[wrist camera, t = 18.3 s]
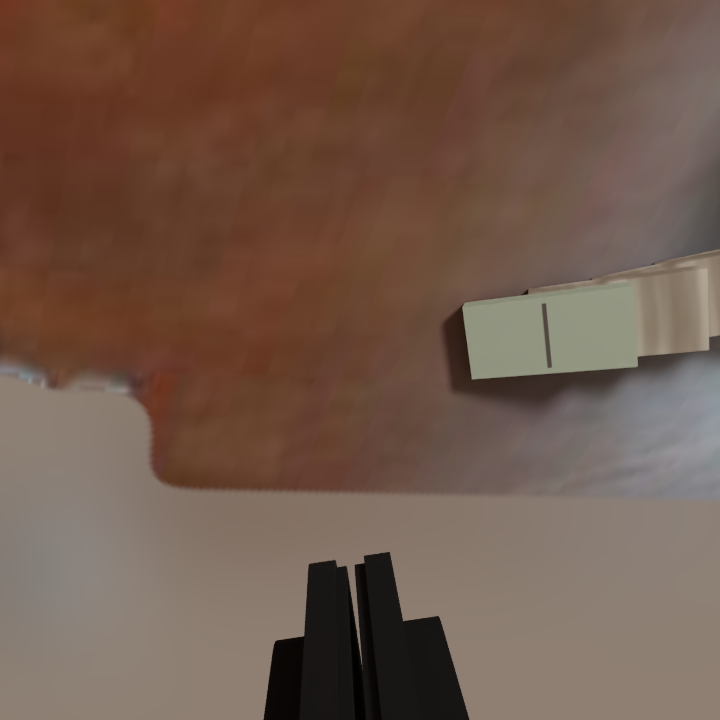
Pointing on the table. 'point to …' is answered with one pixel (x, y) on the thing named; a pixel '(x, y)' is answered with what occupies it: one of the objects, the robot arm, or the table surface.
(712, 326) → the domino
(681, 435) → the table surface
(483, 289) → the table surface
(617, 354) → the domino
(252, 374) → the table surface
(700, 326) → the domino
